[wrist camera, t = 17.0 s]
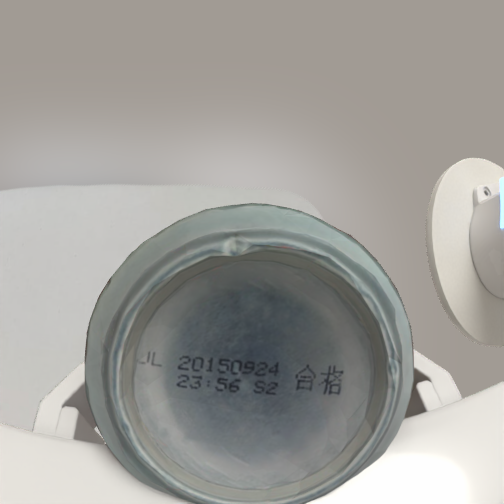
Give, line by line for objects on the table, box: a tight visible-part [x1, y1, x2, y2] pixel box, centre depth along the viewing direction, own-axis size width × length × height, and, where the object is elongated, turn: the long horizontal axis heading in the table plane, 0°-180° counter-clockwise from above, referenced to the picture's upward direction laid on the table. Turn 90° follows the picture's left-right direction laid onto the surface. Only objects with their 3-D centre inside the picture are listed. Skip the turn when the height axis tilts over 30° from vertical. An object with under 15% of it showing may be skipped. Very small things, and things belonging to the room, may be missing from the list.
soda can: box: [85, 203, 414, 504], centre depth 11 cm, size 7×7×12 cm
